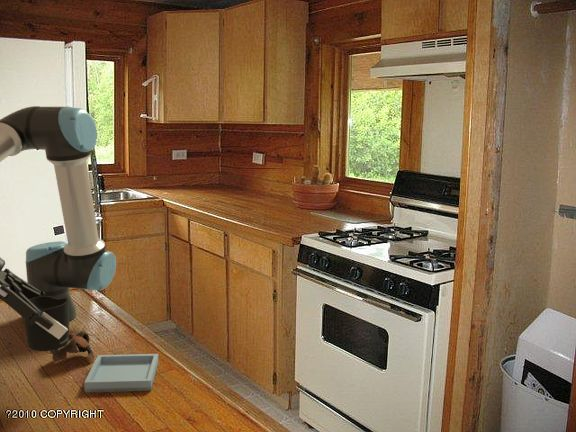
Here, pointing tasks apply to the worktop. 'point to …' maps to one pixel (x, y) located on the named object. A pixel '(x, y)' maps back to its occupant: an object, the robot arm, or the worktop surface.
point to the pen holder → (38, 335)
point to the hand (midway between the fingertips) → (62, 325)
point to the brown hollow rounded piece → (74, 347)
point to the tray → (122, 373)
